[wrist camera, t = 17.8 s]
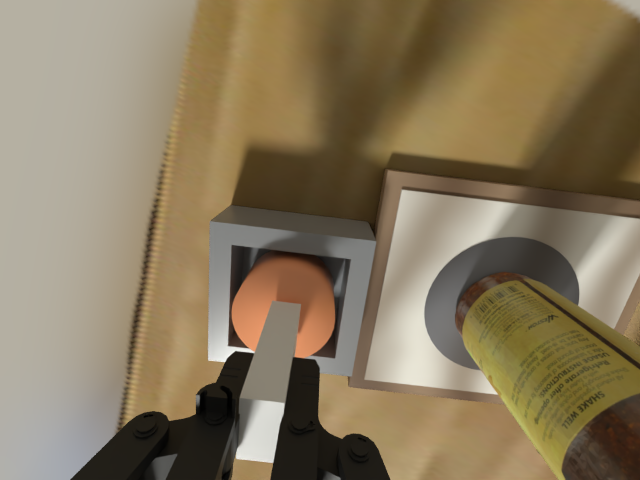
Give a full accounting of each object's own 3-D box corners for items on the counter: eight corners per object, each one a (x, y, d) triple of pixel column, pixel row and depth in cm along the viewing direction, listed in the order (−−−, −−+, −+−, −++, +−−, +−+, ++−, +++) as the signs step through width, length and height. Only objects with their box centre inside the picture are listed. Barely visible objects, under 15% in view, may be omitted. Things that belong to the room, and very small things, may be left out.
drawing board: (668, 203, 21) (689, 208, 20) (575, 403, 26) (588, 417, 25) (385, 168, 21) (388, 171, 19) (347, 377, 26) (348, 389, 24)
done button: (339, 253, 20) (341, 276, 17) (328, 330, 22) (328, 366, 19) (248, 242, 20) (233, 264, 17) (244, 321, 22) (230, 355, 19)
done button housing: (367, 221, 22) (376, 241, 18) (347, 338, 24) (351, 376, 21) (230, 205, 22) (209, 221, 18) (226, 324, 24) (207, 360, 21)
